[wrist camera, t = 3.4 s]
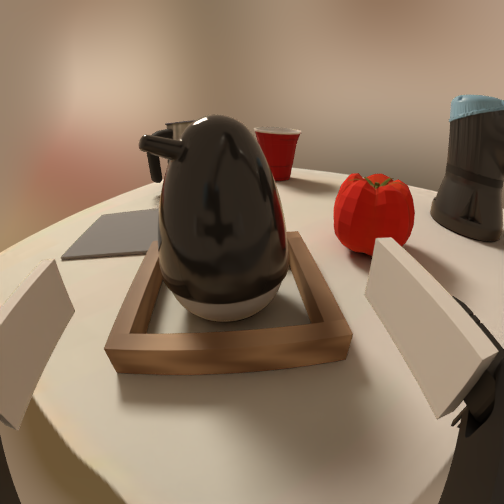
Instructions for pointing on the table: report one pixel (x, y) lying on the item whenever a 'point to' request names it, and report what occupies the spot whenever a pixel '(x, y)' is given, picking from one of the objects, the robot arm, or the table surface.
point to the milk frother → (172, 133)
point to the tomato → (372, 212)
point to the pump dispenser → (219, 220)
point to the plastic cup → (278, 149)
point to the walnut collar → (229, 342)
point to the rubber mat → (117, 235)
